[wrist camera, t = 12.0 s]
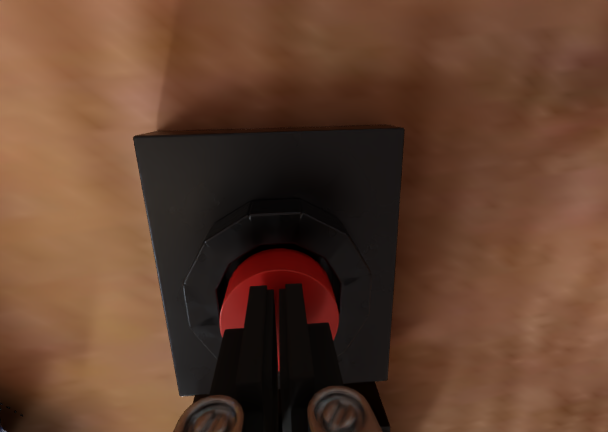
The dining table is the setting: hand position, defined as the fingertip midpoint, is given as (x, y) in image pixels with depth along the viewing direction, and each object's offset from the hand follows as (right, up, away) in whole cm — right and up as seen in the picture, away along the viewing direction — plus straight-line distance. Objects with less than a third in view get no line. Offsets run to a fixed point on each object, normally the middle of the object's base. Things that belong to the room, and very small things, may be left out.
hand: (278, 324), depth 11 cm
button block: (0, +2, +5) cm, 6 cm away
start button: (0, 0, +2) cm, 2 cm away
